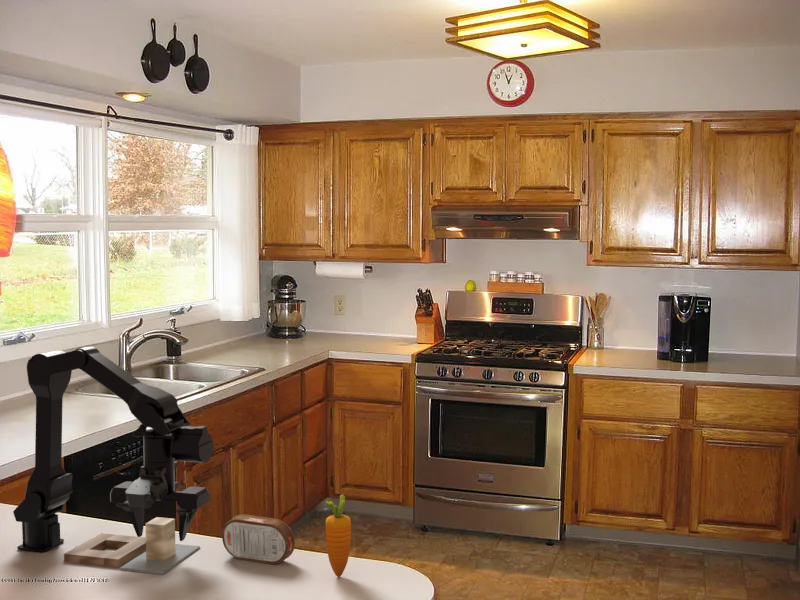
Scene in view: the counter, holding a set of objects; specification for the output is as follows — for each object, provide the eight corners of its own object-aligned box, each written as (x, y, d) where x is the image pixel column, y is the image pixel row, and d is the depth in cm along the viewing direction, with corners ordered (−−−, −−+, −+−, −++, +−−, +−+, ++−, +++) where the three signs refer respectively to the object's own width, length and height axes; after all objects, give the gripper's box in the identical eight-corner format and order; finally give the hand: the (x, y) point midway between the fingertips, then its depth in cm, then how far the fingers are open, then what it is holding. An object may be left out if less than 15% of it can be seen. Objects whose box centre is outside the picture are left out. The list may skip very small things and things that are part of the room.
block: (146, 559, 163) (145, 523, 163) (157, 551, 167) (156, 517, 167) (164, 561, 162) (163, 525, 162) (175, 553, 166) (174, 518, 165)
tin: (296, 562, 162) (295, 519, 162) (288, 568, 159) (287, 524, 159) (228, 552, 168) (227, 511, 167) (219, 558, 165) (219, 515, 164)
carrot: (331, 584, 152) (330, 502, 151) (320, 574, 156) (320, 494, 155) (356, 579, 154) (356, 498, 153) (345, 569, 158) (345, 491, 157)
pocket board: (64, 561, 163) (63, 553, 163) (101, 540, 175) (101, 533, 175) (118, 567, 160) (118, 559, 160) (153, 545, 172) (152, 538, 172)
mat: (120, 569, 159) (120, 567, 159) (160, 544, 172) (160, 542, 172) (162, 574, 157) (162, 572, 157) (199, 548, 170) (199, 546, 170)
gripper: (91, 466, 158) (93, 548, 159) (181, 473, 153) (182, 557, 154) (125, 452, 169) (127, 529, 170) (210, 458, 164) (211, 537, 165)
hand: (160, 538), depth 164 cm, fingers open, 9 cm apart
